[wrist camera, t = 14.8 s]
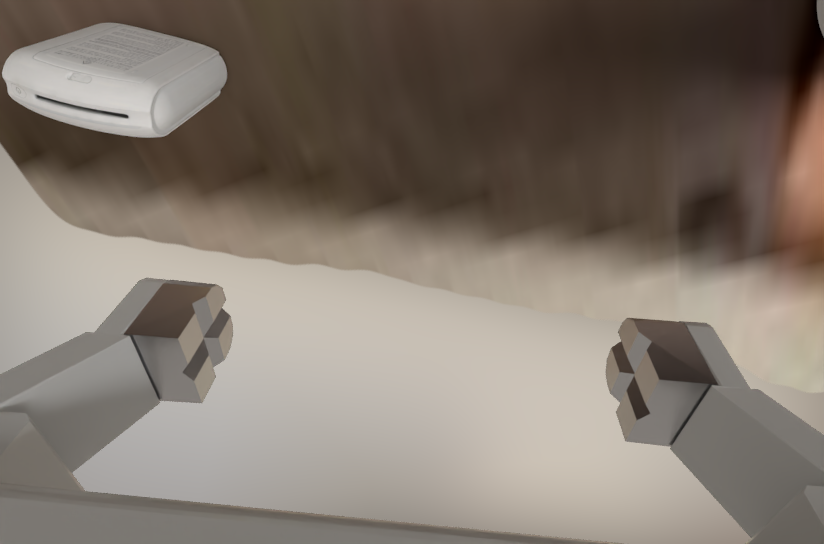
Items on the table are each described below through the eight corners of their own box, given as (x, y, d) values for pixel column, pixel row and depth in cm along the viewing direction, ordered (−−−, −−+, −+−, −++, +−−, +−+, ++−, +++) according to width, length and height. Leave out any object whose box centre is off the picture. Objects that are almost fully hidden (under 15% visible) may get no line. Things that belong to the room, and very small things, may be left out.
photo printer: (108, 69, 40) (-5, 121, 30) (98, 13, 38) (-28, 51, 28) (229, 98, 41) (157, 158, 31) (228, 46, 38) (149, 94, 29)
